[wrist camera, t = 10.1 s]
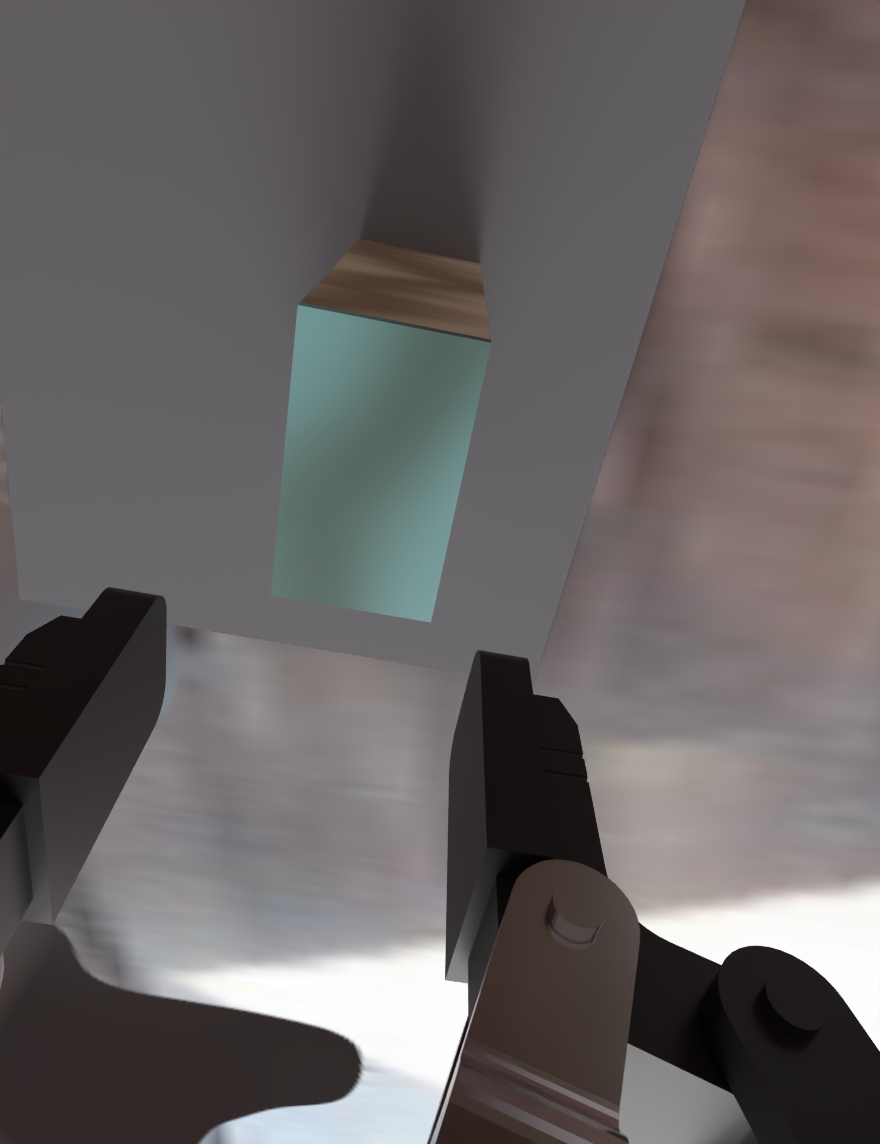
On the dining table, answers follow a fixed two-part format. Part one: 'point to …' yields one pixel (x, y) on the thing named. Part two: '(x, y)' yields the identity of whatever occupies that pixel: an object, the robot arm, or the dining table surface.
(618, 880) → the dining table surface
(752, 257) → the dining table surface
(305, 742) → the dining table surface
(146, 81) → the mat
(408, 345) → the block
